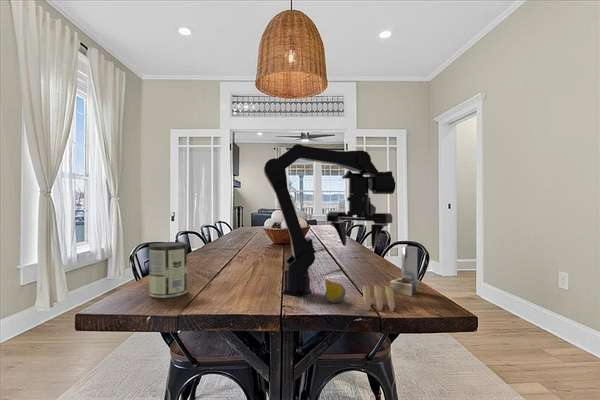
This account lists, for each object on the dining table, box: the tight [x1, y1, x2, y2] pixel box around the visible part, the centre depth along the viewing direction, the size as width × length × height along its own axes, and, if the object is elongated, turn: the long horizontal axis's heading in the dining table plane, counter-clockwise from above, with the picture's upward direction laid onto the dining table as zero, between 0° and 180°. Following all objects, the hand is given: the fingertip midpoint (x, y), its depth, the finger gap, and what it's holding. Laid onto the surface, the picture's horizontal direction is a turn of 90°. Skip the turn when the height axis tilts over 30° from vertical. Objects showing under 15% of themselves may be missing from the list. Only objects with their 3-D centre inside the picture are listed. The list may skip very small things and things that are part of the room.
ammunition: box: [362, 284, 396, 312], centre depth 91 cm, size 5×7×8 cm
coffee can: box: [148, 241, 188, 299], centre depth 102 cm, size 10×10×14 cm
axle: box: [401, 246, 418, 295], centre depth 106 cm, size 4×4×13 cm
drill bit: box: [324, 278, 346, 304], centre depth 94 cm, size 5×5×10 cm
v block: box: [389, 277, 413, 297], centre depth 105 cm, size 5×9×3 cm, turn 3°
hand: (358, 246), depth 106 cm, fingers open, 9 cm apart
